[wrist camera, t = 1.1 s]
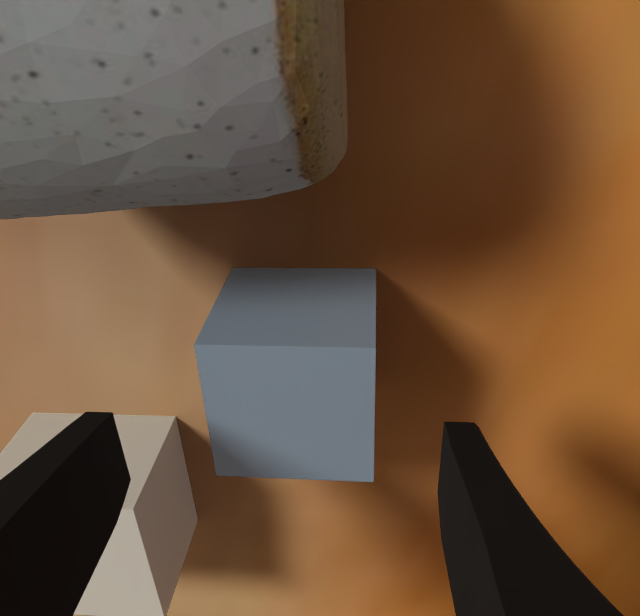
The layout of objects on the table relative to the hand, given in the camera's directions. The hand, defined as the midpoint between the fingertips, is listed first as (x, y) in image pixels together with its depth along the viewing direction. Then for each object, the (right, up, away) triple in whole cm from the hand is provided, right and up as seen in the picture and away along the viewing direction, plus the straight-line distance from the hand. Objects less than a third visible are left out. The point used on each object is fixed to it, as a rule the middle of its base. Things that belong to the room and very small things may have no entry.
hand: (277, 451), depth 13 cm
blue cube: (+1, +3, +4) cm, 5 cm away
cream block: (-6, -2, +8) cm, 11 cm away
